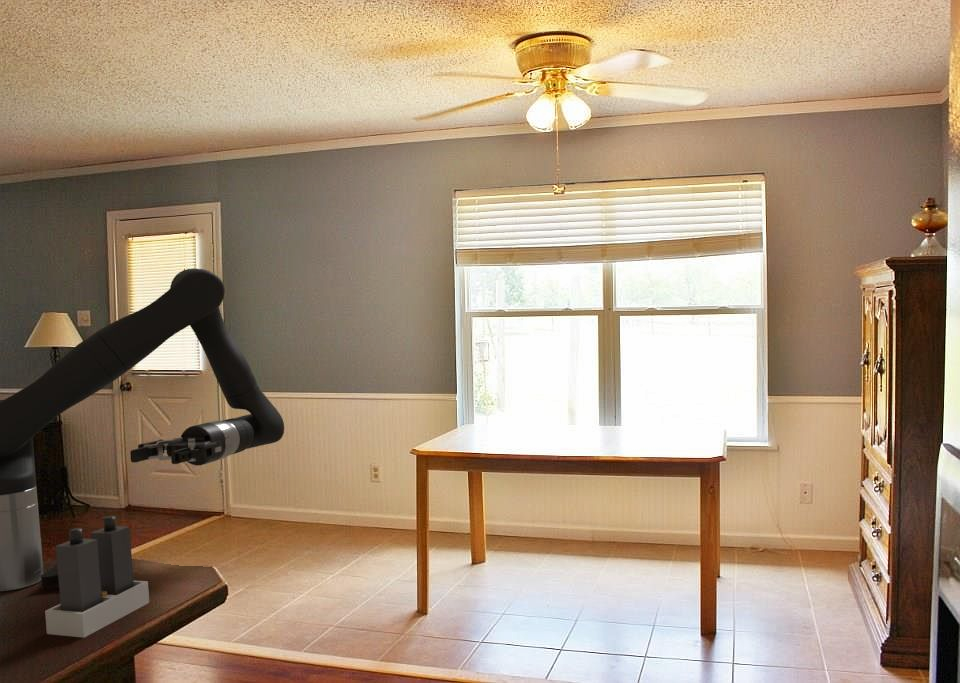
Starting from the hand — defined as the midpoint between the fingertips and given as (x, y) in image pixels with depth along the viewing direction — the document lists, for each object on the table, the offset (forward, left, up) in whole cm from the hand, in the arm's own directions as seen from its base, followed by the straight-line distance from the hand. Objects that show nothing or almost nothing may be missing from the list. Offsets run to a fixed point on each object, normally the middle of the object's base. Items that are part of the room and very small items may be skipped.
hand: (152, 457), depth 142 cm
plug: (-5, -10, -22) cm, 25 cm away
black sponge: (-17, +11, -24) cm, 31 cm away
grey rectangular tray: (-6, -13, -23) cm, 27 cm away
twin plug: (-8, -16, -22) cm, 29 cm away
